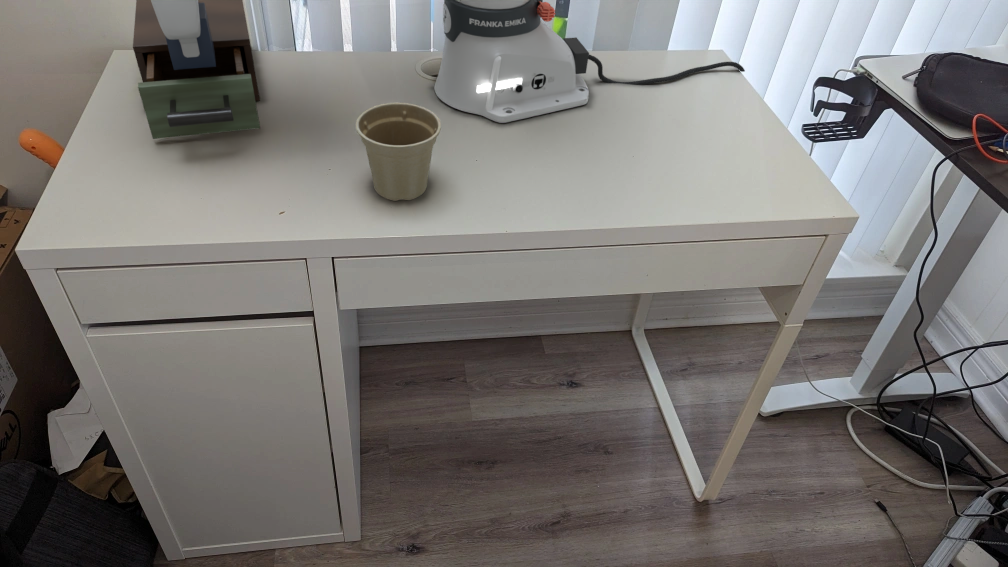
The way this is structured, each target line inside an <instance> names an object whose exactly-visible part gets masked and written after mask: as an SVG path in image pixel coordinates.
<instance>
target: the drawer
mask: <svg viewBox="0 0 1008 567" xmlns="http://www.w3.org/2000/svg"><path fill="white" fill-rule="evenodd" d="M214 51H215V60H216V67H206V68H193V69H181V70H174V68H173V65H172V61H171V57H170V53H169V51H159V52H148V56H147V82H143V81H141V82H138V83H137V89H138V93H139V95H140V98H141V100H140V101H141V103H142V107H143V109H144V113H145V116H146V120H147V124H148V126H149V130H150V134H151V138H152V139H153V140H155V139H157V140H158V139H167V138H176V137H185V136H196V135H205V134H218V133H227V132H236V131H247V130H257V129H261V126H260V119H259V113H258V108H257V101H255V96H254V90H253V85H252V79H251V74H245V72H244V67H243V61H242V56H241V50H240V46H232V47H218V48H214Z"/></svg>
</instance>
